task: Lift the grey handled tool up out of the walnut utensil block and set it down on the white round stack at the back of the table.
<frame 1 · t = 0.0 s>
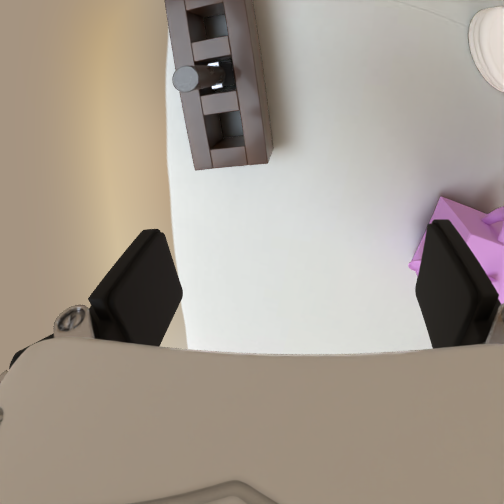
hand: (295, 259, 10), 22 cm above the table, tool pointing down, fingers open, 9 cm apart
utensil block: (228, 74, 27), on the table
grey handled tool: (211, 75, 22), in a hole of the utensil block
white round stack: (500, 50, 19), on the table
teapot: (454, 234, 32), on the table
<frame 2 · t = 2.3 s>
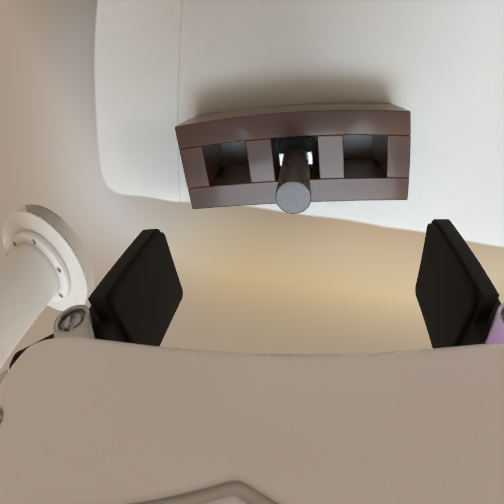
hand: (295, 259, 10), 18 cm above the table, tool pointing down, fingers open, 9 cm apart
utensil block: (296, 143, 25), on the table
grey handled tool: (295, 162, 20), in a hole of the utensil block
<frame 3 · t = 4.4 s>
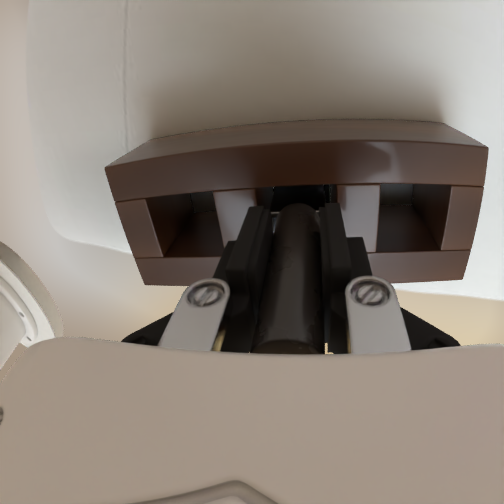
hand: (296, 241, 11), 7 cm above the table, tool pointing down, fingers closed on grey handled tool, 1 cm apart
utensil block: (300, 180, 17), on the table
grey handled tool: (297, 234, 12), in a hole of the utensil block, touching gripper
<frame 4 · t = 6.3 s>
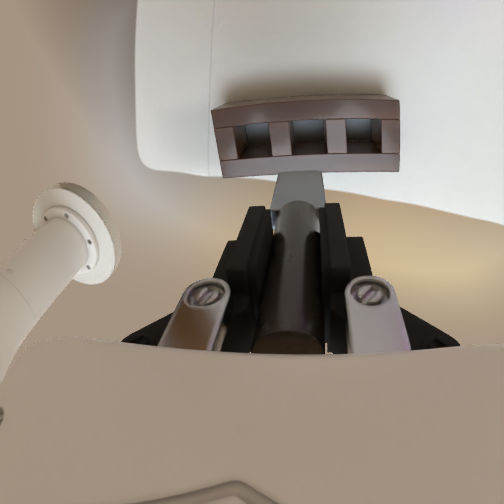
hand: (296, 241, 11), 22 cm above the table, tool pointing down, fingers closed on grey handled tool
utensil block: (308, 127, 30), on the table
grey handled tool: (297, 231, 12), point 22 cm above the table, touching gripper
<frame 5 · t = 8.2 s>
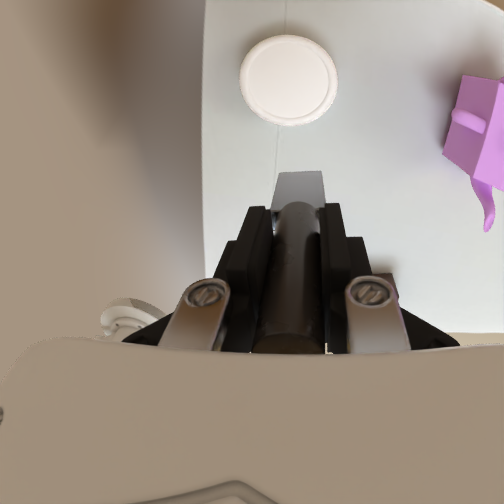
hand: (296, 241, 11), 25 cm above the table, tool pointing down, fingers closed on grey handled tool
grey handled tool: (297, 232, 12), point 25 cm above the table, touching gripper
white round stack: (289, 79, 30), on the table
teapot: (475, 124, 28), on the table
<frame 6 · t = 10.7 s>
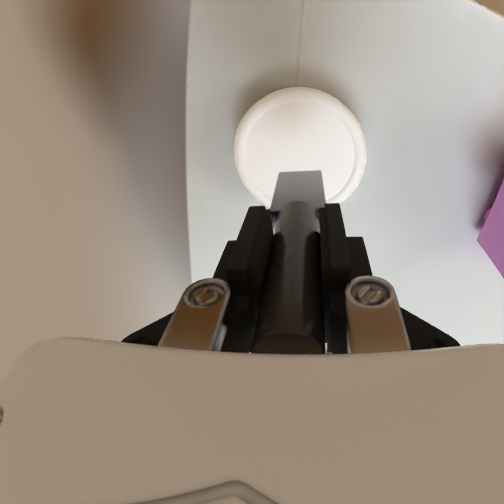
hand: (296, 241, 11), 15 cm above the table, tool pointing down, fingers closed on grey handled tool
grey handled tool: (297, 231, 12), point 15 cm above the table, touching gripper
white round stack: (300, 144, 24), on the table
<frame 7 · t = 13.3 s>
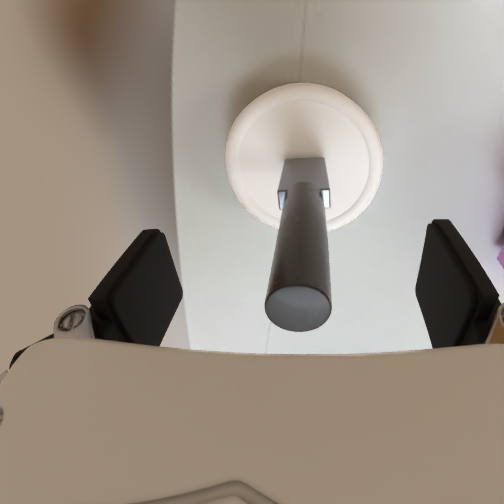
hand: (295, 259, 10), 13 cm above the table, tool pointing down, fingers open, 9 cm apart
grey handled tool: (303, 209, 13), point 10 cm above the table, touching white round stack
white round stack: (304, 150, 21), on the table, touching grey handled tool
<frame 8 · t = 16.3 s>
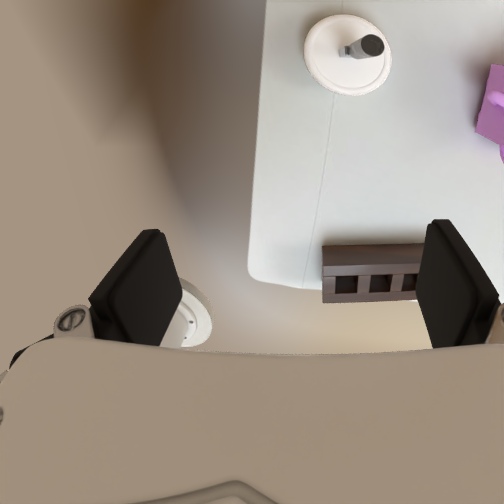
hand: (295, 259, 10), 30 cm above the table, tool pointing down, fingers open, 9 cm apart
utensil block: (375, 263, 45), on the table
grey handled tool: (359, 50, 22), point 10 cm above the table, touching white round stack
white round stack: (345, 55, 30), on the table, touching grey handled tool
teapot: (500, 108, 28), on the table
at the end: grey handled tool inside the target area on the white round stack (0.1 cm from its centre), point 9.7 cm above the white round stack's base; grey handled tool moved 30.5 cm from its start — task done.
